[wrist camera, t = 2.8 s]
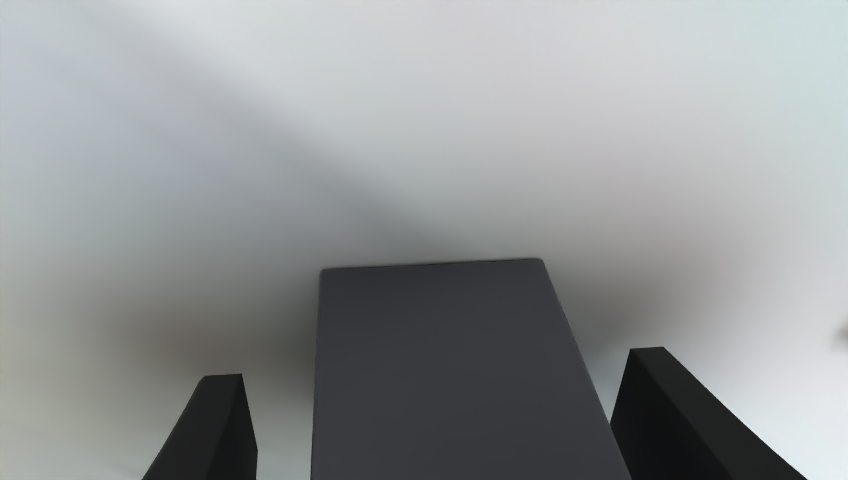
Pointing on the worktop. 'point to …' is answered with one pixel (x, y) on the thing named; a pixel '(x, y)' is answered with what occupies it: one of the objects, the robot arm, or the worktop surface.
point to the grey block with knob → (453, 378)
